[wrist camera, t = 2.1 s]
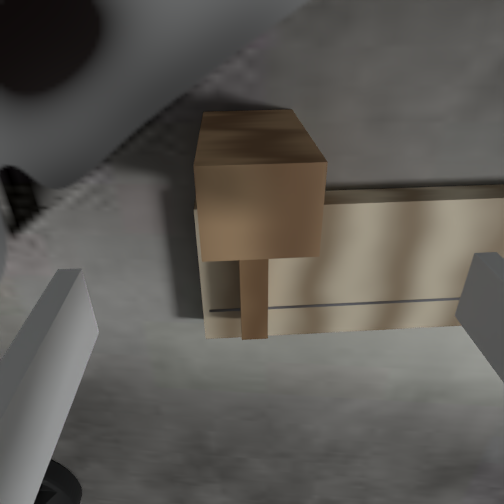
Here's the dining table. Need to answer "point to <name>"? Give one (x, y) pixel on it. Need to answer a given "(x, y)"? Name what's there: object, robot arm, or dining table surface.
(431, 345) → the dining table surface
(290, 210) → the brown block with tab
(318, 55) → the dining table surface
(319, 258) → the board
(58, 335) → the robot arm
